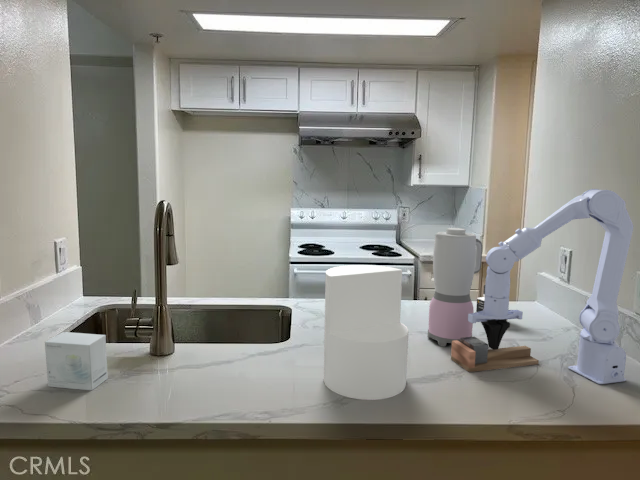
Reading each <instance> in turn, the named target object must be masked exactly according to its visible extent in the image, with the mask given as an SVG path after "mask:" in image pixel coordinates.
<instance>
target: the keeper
mask: <svg viewBox="0 0 640 480" xmlns="http://www.w3.org/2000/svg"><path fill="white" fill-rule="evenodd" d="M460 342H461V343H462V344H464V345H466V346H467V347H469V348H471V349H472V350H474V351H475V352H476V354H475V364H482V363H487V357H488V349H489V345H488V343H487V342H485V341H483V340H481V339H479V338H478V337H476V336H472V337H464V338H460Z"/></svg>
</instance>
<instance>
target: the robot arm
mask: <svg viewBox="0 0 640 480" xmlns="http://www.w3.org/2000/svg"><path fill="white" fill-rule="evenodd" d="M591 218H592V219H593V220H595V221H596V222H597V223H598V224H599V226H601V227H602V228H603V230H604V231H605V232H604V238H603V242H602V246H601V251H600V256H599V260H598V265H597V269H596V272H595V278H594V283H593V287H592V292H591V295H590V296H589V297H588V298H587V300H586V303H585V307H584V308H583V309H581V311H580V312H579V316H578V321H579V324H580V326H582V330H581V331H580V332H579V342H578V350H577V351H578V352H577V361H576V365H575V364H574V365H569V366H567V369H568V370H570V371H572V372H575V373H576V374H578V375H580V376H582V377H584V378H586V379H589V380H590V381H592V382H594V383H596V384H598V385H606V384H613V383H622V382H625V381H626V382H627V378H626V377H625V372H626V371H625V369H626V361H627V354H626V353H627V352H626V351H625V349H624V348H623V347H622V346H619V344H618V343H617V342H616V340H617V338H618V337H619V335H620V332H621V327H620V323H619V315H620V311H619V307H618V303H617V302H618V298H619V293H620V289H621V283H622V280H623V276H624V270H625V266H626V262H627V258H628V254H629V251H630V250H629V249H630V246H631V242H632V236H633V233H634V224H633V221H632V219H631V217H630V213H629V211H628V210H627V203H626V201H625V200H624V199H623V198H622V197H621V196H620V195H619V194H618V193H617V192H615V191H614V190H611V189H610V190H609V189H599V188H591V189H587V190H586V191H584V192H583V193H582V194H579V195H577V196H575V197H574V198H572V199H571V200H569V201H568V202H566V203H565V204H563V205H562V206H561V207H560V208H558V209H556V210H555V211H554V212H553V213H551V214H550V215H549V216H547V217H546V218H545V219H543V220H542V221H540V222H539V223H538V224H537V225H535V226H534V227H523V228H522V229H521V228H517V229H516V230H515V231H514V232H515V233H514V234H513V235H512V236H510V237H509V238H507V239H506V240H504V241H500V242H498V245H499V246H494V247H491V248H490V249H489V250H488V251H487V253H486V256H485V261H486V264H487V269H486V276H485V282H484V283H485V284H484V285H485V299H484V309H483V311H479V312H476V311H475V312H474V313H470V314H468V321H469V322H471V323H473V324H476V323H480V324H481V325H482V327H483V329H484V332H485V335H486V339H487V344H488V348H490V349H493V350H495V349H498V348H500V346H501V345H500V344H501V342H502V339H503V338H504V335H505V333H506V332H507V331H508V329H509V328H510V326H511V322H510V321H507V319H508V320H515V319H516V320H523V311H522V310H520V309H508V308H510V307H509V306H510V294H511V293H510V292H511V291H510V290H511V271H512V269H513V268H514V265H515V262H517V263H518V262H520V261H521V260H523V259H524V258H525V257H527V256H528V255H530V254H531V253H533V252H534V251H535V250H537V249H539V248H540V247H541V246H542V241H543V239H544V238H546V237H547V236H549V235H550V234H552V233H554V232H555V231H557V230H559V229H560V228H562V227H564V225H567V224H568V223H570V222H571V221H573V220H581V219H591Z"/></svg>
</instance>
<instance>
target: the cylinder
mask: <svg viewBox="0 0 640 480" xmlns="http://www.w3.org/2000/svg"><path fill="white" fill-rule="evenodd" d="M324 279H325V280H324V281H325V282H324V283H325V289H324V293H325V294H324V299H325V300H324V335H323V337H324V339H323V342H324V343H323V347H324V348H323V382H324V384H325V386H326V387H327V388H328V389H329V390H330V391H332V392H333V393H335V394H338V395H339V396H343V397H345V398H352V399H355V400H356V399H357V400H368V401H374V400H375V401H376V400H385V399H388V398H389V399H390V398H392V397H395V396H398V395H400V394H401V393H402V392H403V391H404V390H405V389H406V387H407V377H408V376H407V373H408V372H407V371H408V370H407V369H408V354H409V352H408V349H409V329H408V326H406V325H405V323H402V322H401V311H402V310H401V309H402V307H401V306H402V290H403V289H402V287H403V285H402V282H403V269H401V268H396V267H392V266H387V265H386V266H384V265H375V264H349V265H340V266H339V265H338V266H334V267H331V268H328V269H326V270H325V278H324Z"/></svg>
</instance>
